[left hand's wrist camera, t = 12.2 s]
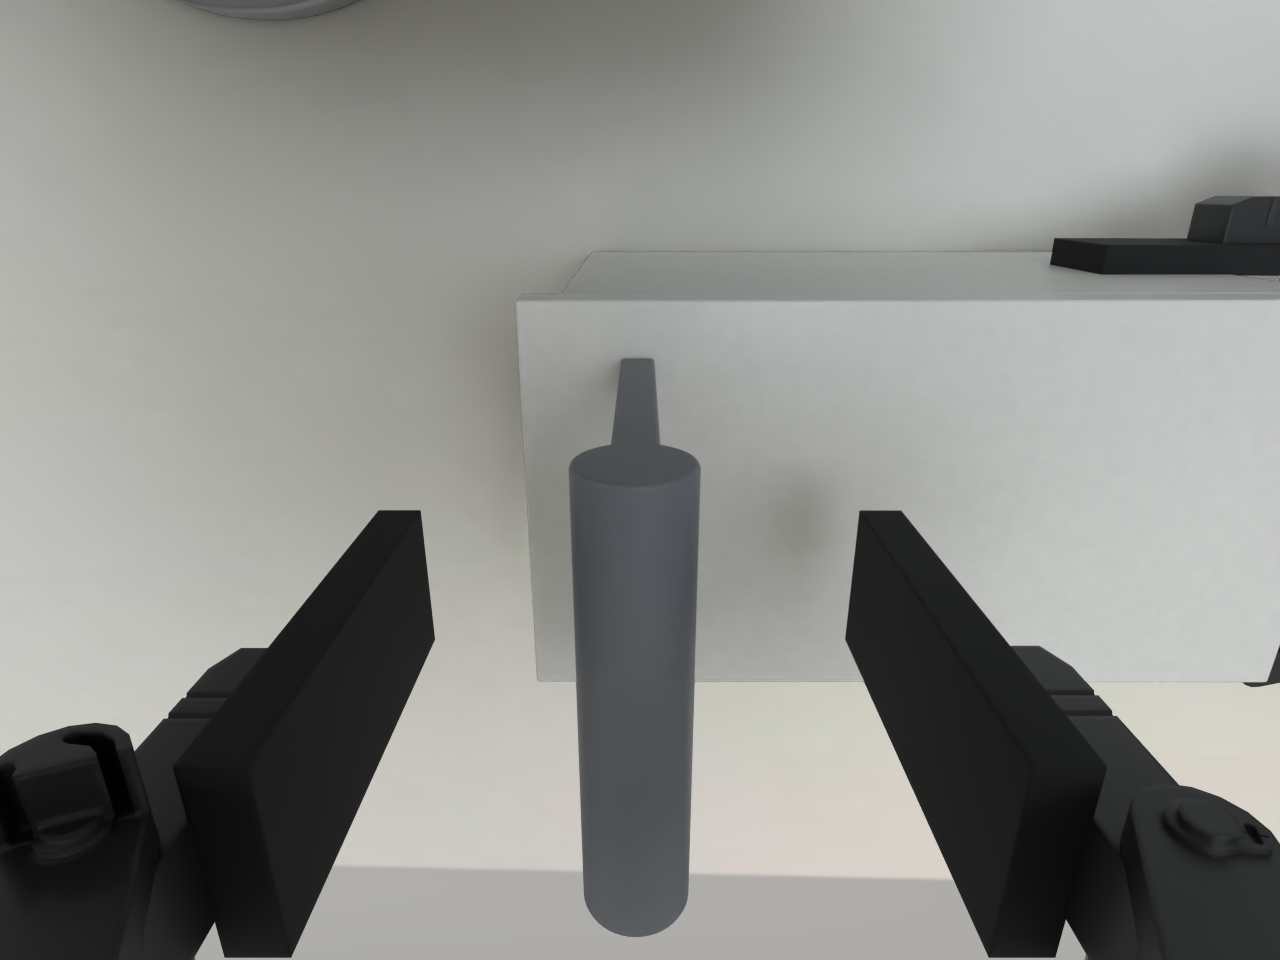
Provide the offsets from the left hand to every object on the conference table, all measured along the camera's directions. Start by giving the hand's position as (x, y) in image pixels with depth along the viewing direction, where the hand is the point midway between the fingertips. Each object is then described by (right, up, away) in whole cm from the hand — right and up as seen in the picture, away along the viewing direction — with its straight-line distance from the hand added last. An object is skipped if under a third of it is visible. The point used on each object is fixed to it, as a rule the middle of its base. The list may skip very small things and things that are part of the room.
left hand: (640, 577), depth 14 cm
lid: (+6, +2, +4) cm, 8 cm away
